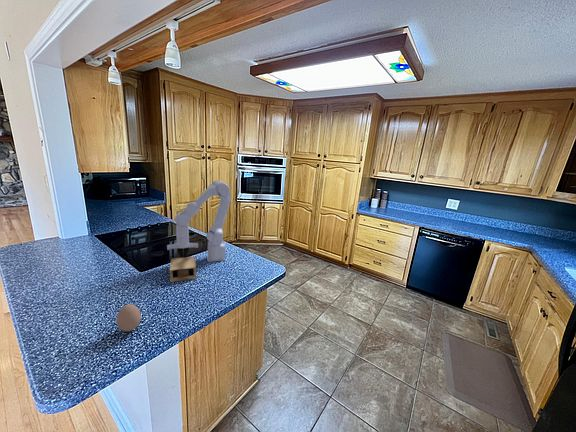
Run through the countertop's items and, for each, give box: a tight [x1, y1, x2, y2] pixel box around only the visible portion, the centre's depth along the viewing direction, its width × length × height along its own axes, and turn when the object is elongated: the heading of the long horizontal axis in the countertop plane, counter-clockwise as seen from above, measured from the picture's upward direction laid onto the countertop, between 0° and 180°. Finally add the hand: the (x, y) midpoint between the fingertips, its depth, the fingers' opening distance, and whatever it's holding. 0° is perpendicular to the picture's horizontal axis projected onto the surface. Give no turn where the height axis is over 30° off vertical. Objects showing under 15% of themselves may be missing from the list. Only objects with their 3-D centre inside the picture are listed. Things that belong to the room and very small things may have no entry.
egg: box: [116, 303, 142, 332], centre depth 76 cm, size 7×7×9 cm
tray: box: [176, 269, 190, 277], centre depth 115 cm, size 5×13×4 cm, turn 23°
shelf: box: [169, 256, 197, 283], centre depth 113 cm, size 11×12×6 cm
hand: (183, 261), depth 122 cm, fingers closed, pressing on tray
